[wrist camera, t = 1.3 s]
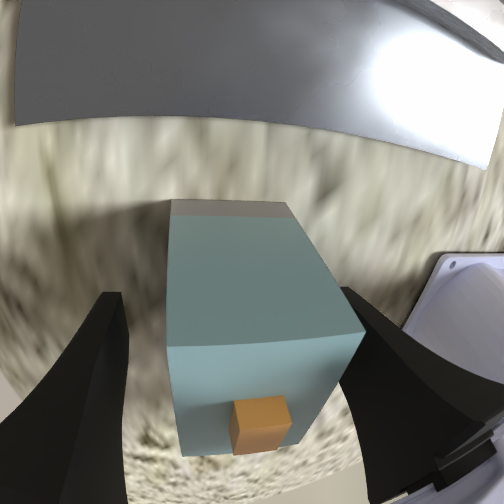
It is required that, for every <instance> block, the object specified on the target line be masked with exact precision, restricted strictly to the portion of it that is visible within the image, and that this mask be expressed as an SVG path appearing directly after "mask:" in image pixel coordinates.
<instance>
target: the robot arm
mask: <svg viewBox="0 0 504 504" xmlns="http://www.w3.org/2000/svg"><path fill="white" fill-rule="evenodd" d="M340 289H341V290H342V292H343V294H344V295H345V297H346V299H347V300H348V302H349V304H350V305H351V307H352V309H353V310H354V312H355V314H356V315H357V317H358V319H359V320H360V322H361V324H362V326H363V327H364V329H365V331H366V333H365V335H364V337H363V338H362V340H361V342H360V344H359V346H358V348H357V350H356V352H355V353H354V355H353V357H352V359H351V361H350V362H349V364H348V366H347V368H346V369H345V371H344V373H343V375H342V376H341V378H340V380H339V384H340V386H341V388H342V391H343V393H344V395H345V397H346V400H347V402H348V405H349V408H350V410H351V414H352V417H353V421H354V424H355V427H356V431H357V435H358V439H359V443H360V447H361V452H362V457H363V463H364V468H365V475H366V483H367V490H368V491H367V492H368V500H369V502H370V504H382V503H384V502H386V501H388V500H391V499H393V498H395V497H398V496H400V495H402V494H404V493H406V492H407V493H408V496H406V497H404V498H402V499H400V500H397V501H395V502H393V503H391V504H504V253H490V254H444V255H442V256H441V257H440V258H439V260H438V262H437V264H436V266H435V268H434V270H433V272H432V274H431V276H430V278H429V280H428V282H427V284H426V286H425V288H424V290H423V292H422V294H421V296H420V298H419V300H418V302H417V303H416V305H415V307H414V309H413V311H412V313H411V314H410V316H409V318H408V320H407V322H406V323H405V325H404V327H403V328H402V330H401V329H400V328H399V327H398V326H396V325H395V324H394V323H392V322H391V321H390V320H389V319H388V318H386V317H385V316H384V315H383V314H381V313H380V312H379V311H378V310H377V309H375V308H374V307H373V306H372V305H371V304H369V303H368V302H367V301H366V300H365V299H363V298H362V297H361V296H360V295H358V294H357V293H356V292H354V291H353V290H352V289H350V288H349V287H340ZM128 358H129V332H128V327H127V322H126V317H125V312H124V306H123V301H122V295H121V292H102V293H101V294H100V296H99V298H98V299H97V301H96V303H95V304H94V306H93V307H92V309H91V311H90V312H89V314H88V315H87V317H86V319H85V320H84V322H83V323H82V325H81V326H80V328H79V329H78V331H77V332H76V334H75V335H74V337H73V338H72V340H71V341H70V343H69V344H68V346H67V347H66V348H65V350H64V351H63V353H62V354H61V355H60V357H59V358H58V360H57V361H56V362H55V364H54V365H53V366H52V368H51V369H50V370H49V371H48V373H47V374H46V375H45V376H44V378H43V379H42V380H41V381H40V383H39V384H38V385H37V386H36V387H35V388H34V389H33V391H32V392H31V393H30V394H29V395H28V396H27V397H26V398H25V400H24V401H23V402H22V403H21V404H20V405H19V406H18V407H17V408H16V409H15V410H14V411H13V412H12V413H11V414H10V415H9V416H8V417H6V418H5V419H4V420H3V422H1V423H0V504H128V500H127V493H126V485H125V477H124V466H123V452H122V415H123V404H124V395H125V386H126V378H127V370H128Z"/></svg>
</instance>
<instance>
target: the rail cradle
mask: <svg viewBox="0 0 504 504" xmlns="http://www.w3.org/2000/svg"><path fill="white" fill-rule="evenodd" d="M14 101H15V126H21V125H28V124H35V123H43V122H51V121H61V120H71V119H83V118H97V117H117V116H196V117H216V118H231V119H244V120H255V121H265V122H274V123H282V124H290V125H298V126H305V127H311V128H318V129H324V130H330V131H336V132H342V133H347V134H352V135H357V136H362V137H367V138H372V139H377V140H381V141H386V142H390V143H394V144H398V145H402V146H406V147H410V148H414V149H418V150H422V151H425V152H429V153H433V154H436V155H440V156H443V157H446V158H450V159H453V160H456V161H459V162H463V163H466V164H469V165H472V166H475V167H478V168H481V169H483V170H486V169H487V166H488V163H489V160H490V156H491V153H492V149H493V146H494V142H495V139H496V135H497V131H498V127H499V123H500V118H501V114H502V109H503V105H504V0H22V4H21V10H20V17H19V25H18V33H17V44H16V57H15V83H14Z"/></svg>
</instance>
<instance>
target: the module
mask: <svg viewBox="0 0 504 504" xmlns="http://www.w3.org/2000/svg"><path fill="white" fill-rule="evenodd" d="M365 333H366V331H365V329H364V327H363V326H362V324H361V322H360V320H359V319H358V317H357V315H356V314H355V312H354V310H353V309H352V307H351V305H350V304H349V302H348V300H347V299H346V297H345V295H344V294H343V292H342V290H341V289H340V287H339V285H338V284H337V282H336V281H335V279H334V277H333V276H332V274H331V272H330V271H329V269H328V268H327V266H326V264H325V263H324V261H323V260H322V258H321V257H320V255H319V253H318V252H317V250H316V249H315V247H314V245H313V244H312V242H311V241H310V239H309V238H308V236H307V235H306V233H305V232H304V230H303V228H302V227H301V225H300V224H299V222H298V221H297V219H296V218H295V216H294V215H293V213H292V212H291V210H290V209H289V207H288V206H287V204H286V203H281V202H259V201H232V200H189V199H171V212H170V226H169V243H168V265H167V298H166V349H167V358H168V367H169V375H170V383H171V391H172V398H173V405H174V412H175V418H176V425H177V431H178V437H179V442H180V448H181V453H182V457H184V456H206V455H220V454H231V453H233V455H243V454H251V453H259V452H266V451H272V450H277V449H278V447H283V446H289V445H295V444H299V442H300V441H301V439H302V438H303V436H304V435H305V434H306V432H307V431H308V429H309V428H310V426H311V425H312V423H313V422H314V420H315V419H316V417H317V415H318V414H319V412H320V411H321V409H322V408H323V406H324V404H325V403H326V401H327V400H328V398H329V396H330V395H331V393H332V392H333V390H334V388H335V387H336V385H337V383H338V382H339V380H340V378H341V376H342V375H343V373H344V371H345V369H346V368H347V366H348V364H349V362H350V361H351V359H352V357H353V355H354V353H355V352H356V350H357V348H358V346H359V344H360V342H361V340H362V338H363V337H364V335H365Z"/></svg>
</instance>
